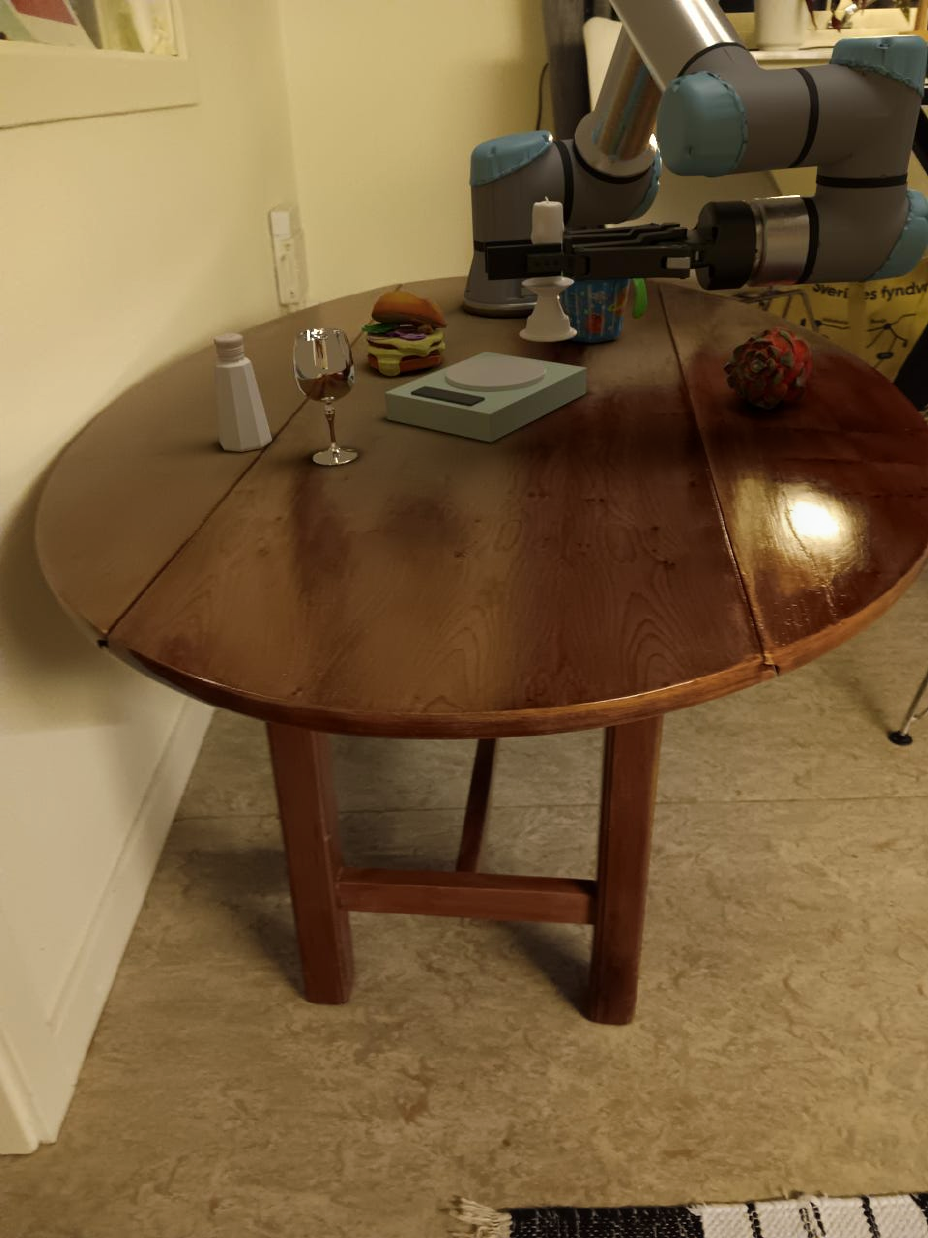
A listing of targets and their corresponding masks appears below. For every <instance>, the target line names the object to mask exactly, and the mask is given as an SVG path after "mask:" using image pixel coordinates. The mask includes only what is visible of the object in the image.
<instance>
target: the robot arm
mask: <svg viewBox="0 0 928 1238" xmlns="http://www.w3.org/2000/svg"><path fill="white" fill-rule="evenodd" d="M608 1H609V3H610V5H611V7H612V8H613V10H614V12H615V13H616V16H617V17H618V19H619V20H620V21H619V22H620V23H621V27H620V31H619V33H618V36H617V39H616V43H615V45H614V49H613V52H612V55H611V57H610V60H609V64H608V67H607V70H606V73H605V75H604V79H603V82H602V85H601V88H600V91H599V94H598V97H597V101H596V103H595V106H594V110H592V111H590V112H589V113H587V114H585V115H584V116H583V117H582V118H581V119H580V121H579V123H578V125H577V127H576V129H575V133H574V135H573V138H571V139H560V140H554V137H553V135H552V132H550V131H549V130H545V129H544V130H542V129H541V130H531V131H525V132H523V131H522V132H518V133H512V134H506V135H503V136H499V137H495V138H492V139H489V140H485V141H483V142H480V143H479V144H477V145H476V146H475V147H474V148H473V150H472V152H471V154H470V162H469V163H470V164H469V165H470V166H469V180H468V185H469V186H470V202H471V203H470V204H471V205H470V206H471V225H472V226H471V227H472V228H471V229H472V244H473V245H472V247H473V249H472V250H473V254H472V256H473V257H472V260H471V263H470V266H469V267H470V268H469V271H468V275H467V279H466V284H465V288H464V291H463V295H462V296H463V297H462V299H463V300H462V301H463V309H464V310H465V311H466V312H468V313H471V314H473V315H476V316H482V317H489V318H490V317H491V318H493V317H494V318H522V317H529V316H531V315H532V313H533V310H534V308H535V306H536V303H537V300H538V294H536V293H534V292H533V291H531V290H530V289H528V288H526V287H525V286H523V285H522V282H523V281H525V280H527V279H531V278H539V277H555V276H562V271H563V276H566V277H568V278H571V277H573V276H574V280H575V281H579V282H581V281H584V280H611V279H630V280H632V279H638V278H643V279H679V280H686V279H689V278H690V277H691V270H694V273H695V277H696V280H697V283H698V285H699V287H701V289H702V290H704V291H708V292H709V291H712V292H713V291H726V290H740V289H742V287H744V286H745V285H746V286H747V287H748V288H765V287H766V290H767V292H768V293H777V292H778V290H779V286H780V285H781V286H782V285H784V286H798V285H799V286H800V285H814V284H815V285H816V284H835V283H860V284H865V283H867V282H871V281H880V280H889V279H895V278H899V277H904V276H906V275H908V274H909V273H911V272H912V271H913V270H915V268H916V267H918V265H919V264H920V262H921V261H922V259H923V258H924V256H925V254H926V251H927V248H928V199H927V197H926V196H925V195H924V194H923V193H922V192H921V191H919V190H916V189H911V188H908V184H909V181H908V176H909V172H908V168H909V163H910V159H911V155H912V150H913V145H914V140H915V134H916V130H917V125H918V120H919V116H920V111H921V105H922V100H923V99H924V97H925V87H926V77H927V76H926V75H927V68H928V62H927V61H928V43H927V41H926V40H925V38H923V37H922V36H921V35H919V34H918V35H917V34H895V35H894V34H893V35H873V36H857V37H856V36H855V37H844V38H841V39H838V41H837V42H836V43H835V44H834V46H833V49H832V53H831V58H830V60H829V61H828V63H827V64H819V65H818V64H817V65H810V66H801V67H790V68H772V69H771V68H769V69H765V68H763V67H761V66H760V64H759V63H758V60H756V58H755V56H754V55H753V54H752V53H751V51H750V50H749V48H748V46H746V44H745V43H744V41H743V39H742V38H741V36H740V34H739V33H738V32H737V30H736V29H735V27H734V25H733V24H732V22H731V21H730V19H729V18H728V16H727V14H726V13H725V12H724V10H723V9H722V7H721V5H720V3H718V0H608ZM655 131H656V134H655V135H656V137H655V135H654V132H655ZM656 140H657V141H656ZM657 142H658V143H659V146H658V143H657ZM662 163H663V165H664V167H665V168H666V169H667V170H668V171H669V172H670V173H672V174H674V175H676V176H678V177H705V178H711V179H712V178H713V179H714V178H720V177H724V176H731V175H740V174H750V173H751V174H752V173H760V172H769V171H778V170H779V171H780V170H788V169H800V168H801V169H803V168H814V167H816V176H815V184H816V185H815V186H816V187H815V193H814V194H811V195H801V196H800V195H787V196H786V195H783V196H771V197H769V196H767V197H756V198H752V199H751V201H750V202H747V200H746V199H729V200H715V201H708V202H706V203H705V204H704V205H703V206H702V208H700V209H701V210H700V211H699V213H698V216H697V222H696V225H695V227H693V228H691V229H690V228H688V227H687V226H681V222H678V221H677V222H676V221H675V222H674V221H672V222H671V221H670V222H662V223H661V224H660V223H659V222H654V221H652V222H650V223H645V224H640V225H639V224H638V225H633V226H631V225H630V226H619V227H606V228H594V229H593V228H591V229H581V230H580V229H579V230H567V229H568V228H579V227H594V226H606V225H620V224H623V223H626V222H631V221H637V220H638V219H641V218H642V217H643V216H645V215H646V214H647V213H648V212H649V210H651V208H652V206H653V204H654V202H655V201H656V198H657V196H658V194H659V193H658V192H659V190H660V182H659V179H660V178H661V177H662V167H663V165H662ZM545 197H547V198H548V201H549V202H559V203H561V204H562V207H563V223H564V229H565V228H566V230H564V232H563V235H562V244H561V242H559V243H542V244H533V243H532V241H531V234H532V212H533V205H534V204H535V203H540V202H543V201H546V198H545ZM558 300H559V303H560V299H559V294H558Z"/></svg>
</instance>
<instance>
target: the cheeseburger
mask: <svg viewBox="0 0 928 1238" xmlns="http://www.w3.org/2000/svg"><path fill="white" fill-rule="evenodd" d="M370 317H371V318H372V320H373V321H375V322H377V323H372V324H370V325H367V324H365V325H364V327H363V326H362V327H361V330H362V332H366V336H365V340H366V342H367V343H368V344H366V347H365V351H366V353H367V354H366V357H367V360H368V361H367V362H368V364H369V366H370V367H372V368H374V369H375V370H378V371H379V372H380V373H381V374H382V375H384V376H387V377H395V376H396V377H397V376H398V375H399V374H401V373H406V372H412V371H417V370H421V369H426V368H433V367H436V366H437V365H439V364H440V363H441V362H442V357H443V354H444V351H445V349H446V343H445V342H444V341H443V340H442V339H444V333H443V331H442V330H440V329H443V328H447V327H448V326H449V323H445V319H444V315H443V313H442V310H441V308H440V306H439V305H438V304H437V303H436V302H435V301H434V300H432V299H428V298H420V297H418V296H417V295H415V294H412V293H410V292H408V291H403V290H402V291H401V290H397V291H396V290H395V291H392V290H391V291H386V292H385V293H383V294H382V295H380V296H379V298H378V299H377V300H376V302H375V303H374V306H373V308H372V311H371V315H370Z"/></svg>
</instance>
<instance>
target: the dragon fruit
mask: <svg viewBox="0 0 928 1238" xmlns="http://www.w3.org/2000/svg"><path fill="white" fill-rule="evenodd" d="M812 354H813V353H812V350H811V348H810V346H809V344H808V343H807V342H806V341H805V340H804V339H802V338H801V339H800V338H797V339H796V338H795V334H794V332H793V331H792V330H791V329H789V328H785V327H783V326H777V325H776V326H773V327H772V328H771V329H764V330H762V331H758V332H757V333H756V334H754V335H752V336H750V337H749V339H747V340H746V341H745V342H743V344H740V345H738V346H736V347H735V348H734V349H733V351H732V356H731V357H730V359H729V360H728V361H727V362H726V363H725V365H724V367H723V370H724V372H725V373H726V374H727V375H728V376H727V377H726V379H725V381H726V383H727V386H728V387H729V389H732V390H734V392H735V393H736V394H737V395H738V396H739V397H740V398H742V400H744V401H749V402H750V404H752V405H753V406H755V407H757V408H760V409H763V410H772V409H774V408H775V407H777V406H778V405H779V403H780V402H781V401H782V402H784V403H786V404H790V403H791V402H795V403H798V402H799V401H801V399H802V398H803V396H804V395H805V392H806V388H807V387H806V385H807V384H806V383H807V382H806V381H807V380H809V379H810V377H811V375H812V369H813V359H812V358H813V357H812Z"/></svg>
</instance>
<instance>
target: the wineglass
mask: <svg viewBox="0 0 928 1238" xmlns="http://www.w3.org/2000/svg"><path fill="white" fill-rule="evenodd" d="M293 339H294V340H293V349H292V371H293V378H294V381H295V384H296V387H297V389H298V390H299V392H300V393H301V394H302V395H303V396H304V397H305V398H307V399H309V400H310V401H314V402H317V403H323V404H325V406H324V415H325V418H326V421H327V424H328V428H329V438H330V445H329V448H326V449H323V450H320V451H317V452H316V453H314V454H313V455H312V461H313V462H314V463H315V464H318V465H323V466H337V465H338V466H339V465H344V464H348V463H350V462H353V461H354V460H356V459H357V458H358V455H359V454H358V451H356V450H355V449H353V448H350V447H340V446H339V445H338V443H337V440H336V433H335V416H336V411H335V410H336V409H335V407H334V405H333V404H332V403H334V402H337V401H339V400H341V399H343V398H344V397H346V396H347V395H348V394H349V393H351V391H352V389H353V387H354V385H355V381H356V365H355V359H354V355H353V351H352V348H351V345H350V341H349V339H348V336H347V333H346V331H345V330H344V329H341V328H337V327H318V328H311V329H305V330H302V331H299V332H297V333H295V335H294V338H293Z"/></svg>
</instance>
